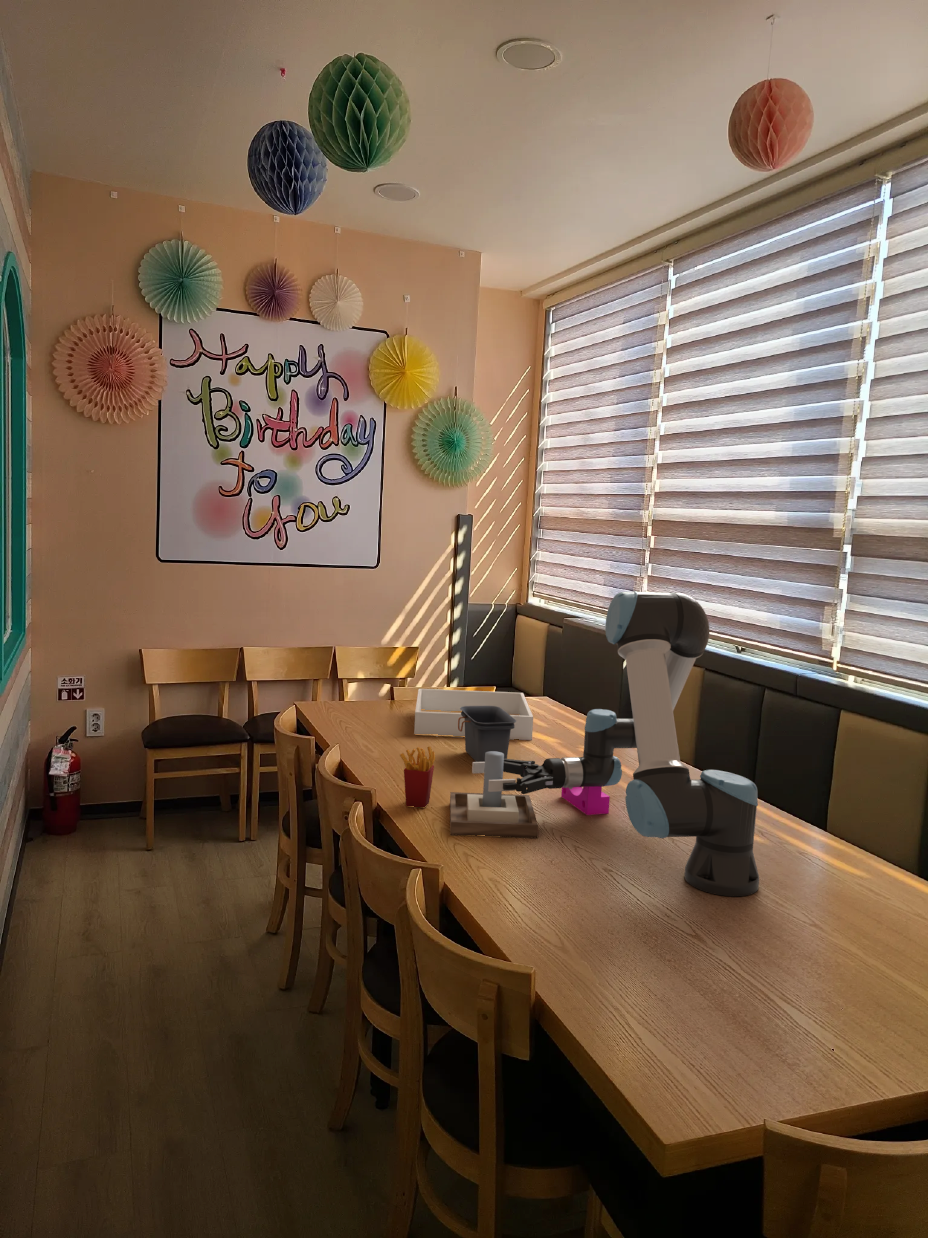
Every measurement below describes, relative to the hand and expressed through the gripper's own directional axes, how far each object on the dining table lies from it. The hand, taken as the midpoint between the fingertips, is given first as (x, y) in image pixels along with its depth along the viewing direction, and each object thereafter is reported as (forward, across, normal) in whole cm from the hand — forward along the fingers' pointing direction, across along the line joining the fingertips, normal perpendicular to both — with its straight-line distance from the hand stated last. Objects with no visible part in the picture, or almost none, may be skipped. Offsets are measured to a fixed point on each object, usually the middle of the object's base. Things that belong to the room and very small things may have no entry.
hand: (480, 776), depth 222 cm
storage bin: (-17, +52, -13) cm, 57 cm away
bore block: (-3, -1, -11) cm, 12 cm away
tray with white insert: (-3, -1, -11) cm, 12 cm away
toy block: (-32, +7, -12) cm, 34 cm away
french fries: (+12, +15, -12) cm, 22 cm away
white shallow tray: (-27, +96, -14) cm, 101 cm away
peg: (-3, 0, -10) cm, 11 cm away
